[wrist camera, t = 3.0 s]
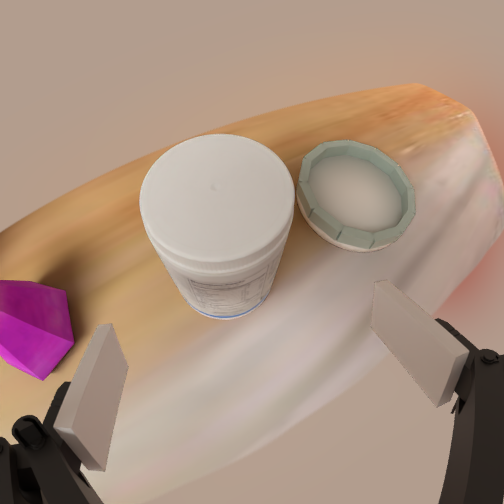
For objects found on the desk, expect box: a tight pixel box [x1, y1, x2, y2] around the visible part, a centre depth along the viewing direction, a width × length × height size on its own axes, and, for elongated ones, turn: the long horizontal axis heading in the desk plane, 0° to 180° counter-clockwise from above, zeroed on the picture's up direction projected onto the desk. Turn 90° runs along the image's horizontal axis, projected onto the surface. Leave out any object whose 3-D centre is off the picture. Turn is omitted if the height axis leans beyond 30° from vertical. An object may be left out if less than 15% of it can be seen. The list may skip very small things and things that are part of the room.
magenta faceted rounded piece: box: [0, 280, 75, 381], centre depth 20 cm, size 11×11×15 cm
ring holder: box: [296, 140, 416, 252], centre depth 34 cm, size 14×14×3 cm
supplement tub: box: [139, 134, 295, 320], centre depth 24 cm, size 10×10×15 cm
